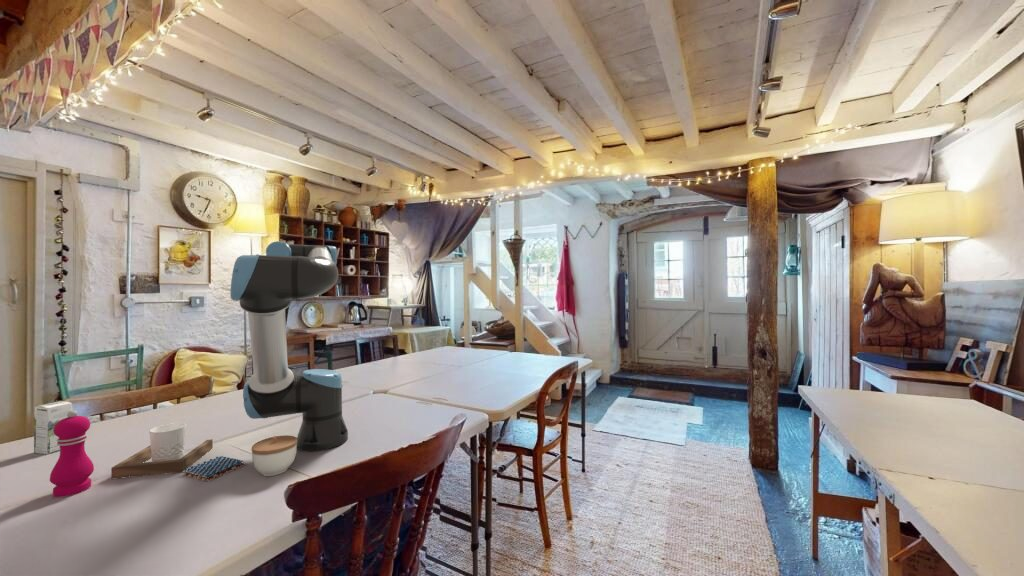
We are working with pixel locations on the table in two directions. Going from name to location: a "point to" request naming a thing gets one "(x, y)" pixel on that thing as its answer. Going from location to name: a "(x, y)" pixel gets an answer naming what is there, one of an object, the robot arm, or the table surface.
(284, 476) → the table surface
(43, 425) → the syrup box
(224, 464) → the woven mat
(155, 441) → the white cup
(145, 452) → the walnut bay
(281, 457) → the lidded jar
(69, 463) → the pepper mill
